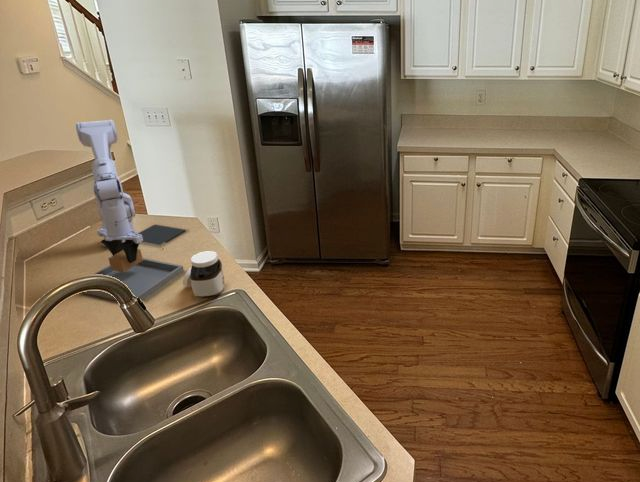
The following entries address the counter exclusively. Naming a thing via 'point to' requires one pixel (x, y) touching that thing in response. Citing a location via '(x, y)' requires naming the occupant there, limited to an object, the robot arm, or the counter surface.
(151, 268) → the tray
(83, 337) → the counter surface
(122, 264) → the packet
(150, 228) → the mat
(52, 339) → the counter surface
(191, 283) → the spread jar
